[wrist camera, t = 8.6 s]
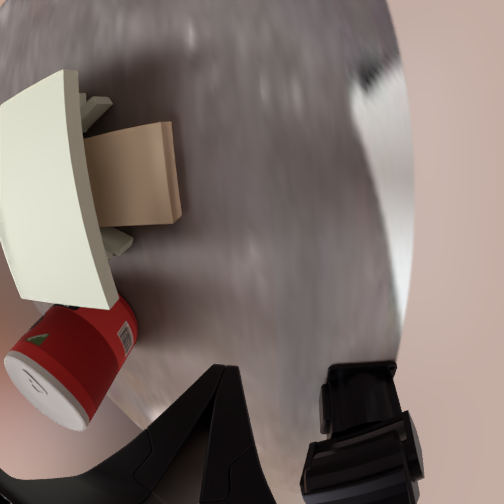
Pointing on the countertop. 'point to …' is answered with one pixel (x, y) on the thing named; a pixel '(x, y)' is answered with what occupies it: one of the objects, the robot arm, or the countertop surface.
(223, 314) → the countertop surface
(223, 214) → the countertop surface
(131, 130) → the panel
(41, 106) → the pale green angular bracket
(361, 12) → the countertop surface
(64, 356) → the canned food
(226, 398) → the robot arm
